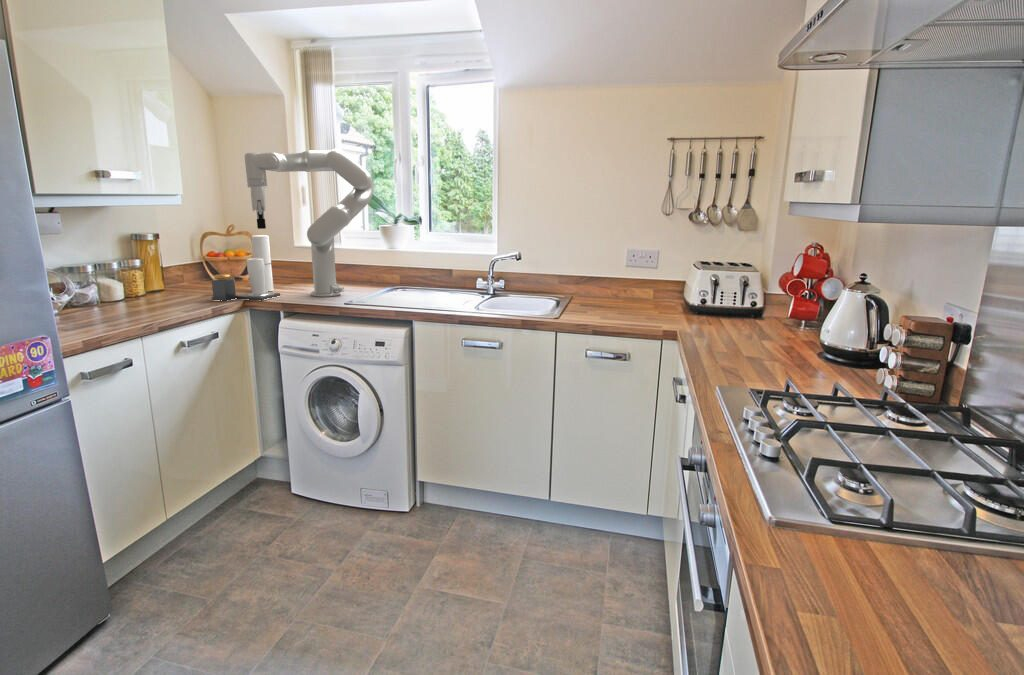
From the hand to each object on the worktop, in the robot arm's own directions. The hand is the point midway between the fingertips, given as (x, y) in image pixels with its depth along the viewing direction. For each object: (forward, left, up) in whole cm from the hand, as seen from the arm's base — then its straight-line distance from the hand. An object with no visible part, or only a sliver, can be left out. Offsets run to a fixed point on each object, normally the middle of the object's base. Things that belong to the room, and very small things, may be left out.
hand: (261, 228), depth 243 cm
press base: (+4, +9, -29) cm, 30 cm away
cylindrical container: (+9, -10, -29) cm, 32 cm away
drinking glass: (0, +6, -27) cm, 28 cm away
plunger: (+10, +14, -27) cm, 32 cm away
